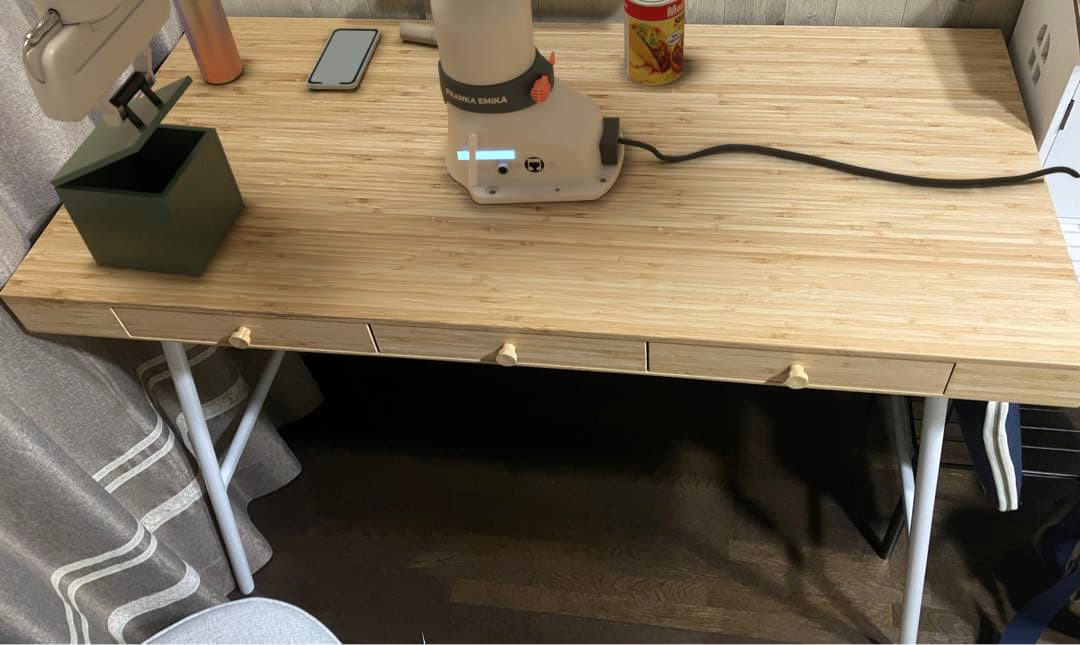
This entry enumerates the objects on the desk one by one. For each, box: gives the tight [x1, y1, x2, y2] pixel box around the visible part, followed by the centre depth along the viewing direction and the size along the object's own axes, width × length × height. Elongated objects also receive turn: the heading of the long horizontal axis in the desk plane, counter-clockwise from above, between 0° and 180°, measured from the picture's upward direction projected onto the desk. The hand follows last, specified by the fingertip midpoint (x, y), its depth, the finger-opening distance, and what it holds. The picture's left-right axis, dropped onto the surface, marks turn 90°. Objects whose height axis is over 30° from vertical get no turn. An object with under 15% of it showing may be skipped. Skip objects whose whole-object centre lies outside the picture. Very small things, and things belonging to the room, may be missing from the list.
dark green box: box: [53, 123, 246, 278], centre depth 118 cm, size 14×13×12 cm
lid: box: [49, 70, 194, 187], centre depth 110 cm, size 14×13×5 cm
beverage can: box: [172, 0, 244, 85], centre depth 140 cm, size 6×6×15 cm
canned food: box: [622, 0, 686, 87], centre depth 133 cm, size 8×8×12 cm
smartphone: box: [306, 27, 382, 90], centre depth 144 cm, size 7×1×15 cm
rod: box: [399, 20, 438, 46], centre depth 145 cm, size 12×3×3 cm, turn 67°
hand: (133, 104), depth 107 cm, fingers closed on lid, 5 cm apart
